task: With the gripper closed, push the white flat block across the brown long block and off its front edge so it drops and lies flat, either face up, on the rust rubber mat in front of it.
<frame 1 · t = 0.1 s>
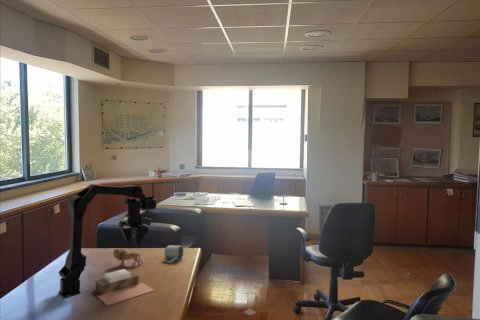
hand: (133, 245, 160), 14 cm above the table, tool pointing down, fingers open, 9 cm apart
ceramic mug: (172, 260, 183), on the table
mat: (126, 293, 141), on the table
brown long block: (117, 287, 147), on the table
white flat block: (117, 275, 147), point 5 cm above the table, touching brown long block
lion figurine: (127, 265, 173), on the table
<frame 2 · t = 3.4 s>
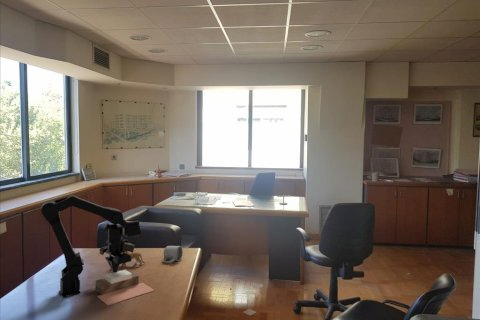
hand: (114, 273, 149), 5 cm above the table, tool pointing down, fingers closed
white flat block: (118, 276, 146), point 5 cm above the table, touching brown long block, gripper
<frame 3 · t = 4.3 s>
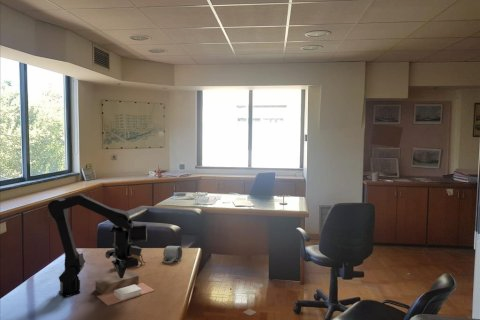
hand: (121, 277, 145), 5 cm above the table, tool pointing down, fingers closed
white flat block: (127, 292, 140), point 1 cm above the table, tilted 180°, touching mat
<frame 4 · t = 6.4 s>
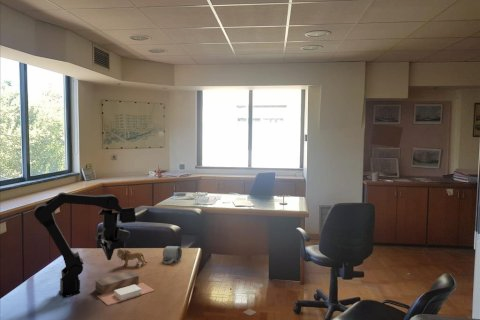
hand: (109, 259, 148), 11 cm above the table, tool pointing down, fingers closed
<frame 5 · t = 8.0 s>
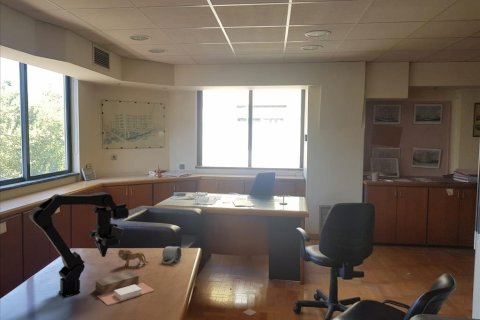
hand: (103, 256, 150), 12 cm above the table, tool pointing down, fingers closed
at the end: white flat block inside the target area (1.5 cm from its centre), point 1.3 cm above the table; white flat block touching mat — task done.
